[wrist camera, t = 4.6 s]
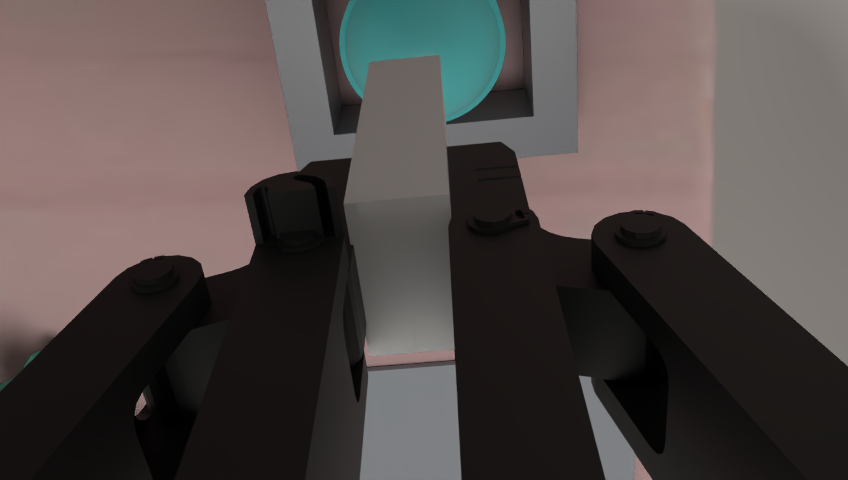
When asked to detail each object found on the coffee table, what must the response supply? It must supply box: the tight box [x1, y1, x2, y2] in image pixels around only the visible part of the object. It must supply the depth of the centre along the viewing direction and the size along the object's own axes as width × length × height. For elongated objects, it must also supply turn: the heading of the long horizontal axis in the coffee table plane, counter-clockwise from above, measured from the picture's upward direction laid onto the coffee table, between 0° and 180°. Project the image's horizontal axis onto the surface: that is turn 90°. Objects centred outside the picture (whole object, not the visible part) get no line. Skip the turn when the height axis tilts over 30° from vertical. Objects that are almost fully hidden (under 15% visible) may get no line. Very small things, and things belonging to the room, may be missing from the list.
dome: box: [339, 0, 506, 122], centre depth 26 cm, size 5×5×7 cm
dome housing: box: [265, 0, 578, 171], centre depth 28 cm, size 10×10×3 cm
